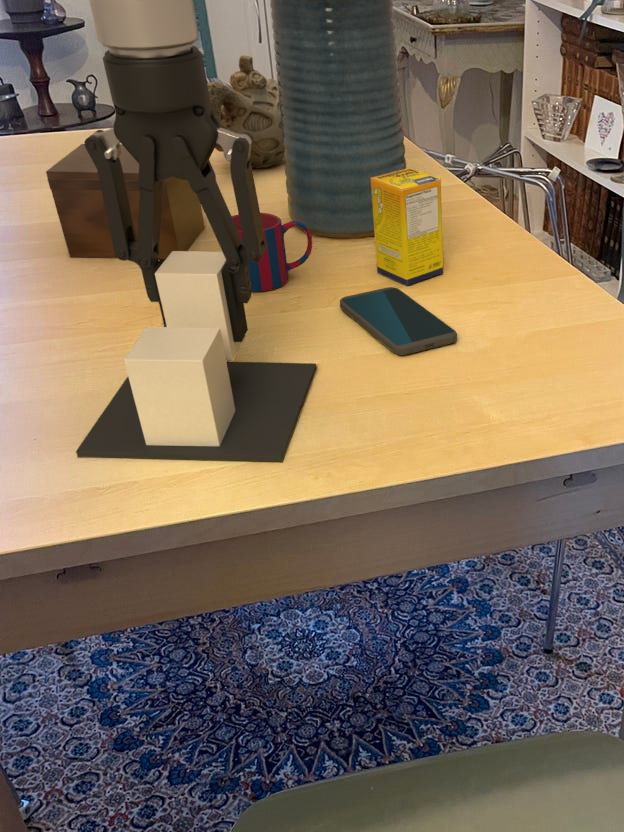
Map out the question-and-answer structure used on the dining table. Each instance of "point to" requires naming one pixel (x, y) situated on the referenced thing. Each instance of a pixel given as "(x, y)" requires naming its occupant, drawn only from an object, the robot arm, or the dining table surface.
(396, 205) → the supplement box
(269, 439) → the rubber mat
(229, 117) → the teapot
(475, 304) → the dining table surface
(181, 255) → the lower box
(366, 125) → the vase
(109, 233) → the brown rectangular block
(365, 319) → the smartphone
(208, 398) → the upper box
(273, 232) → the mug
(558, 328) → the dining table surface
